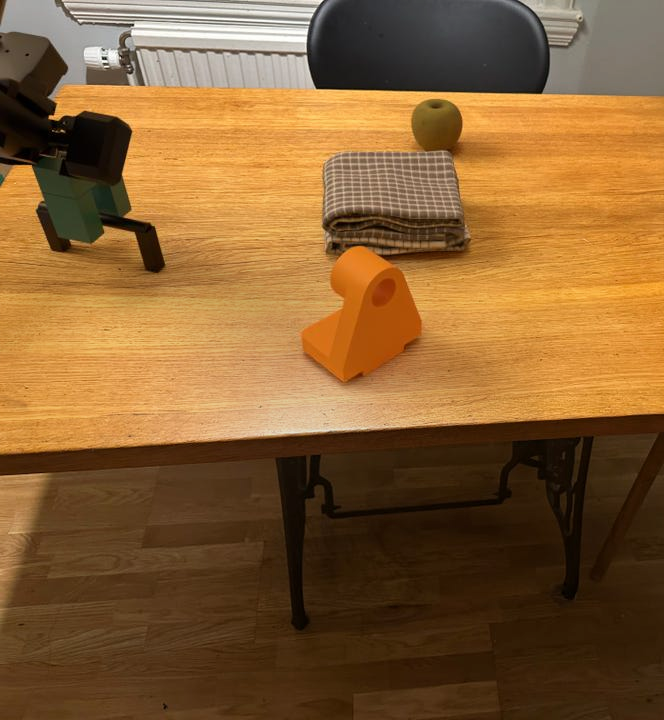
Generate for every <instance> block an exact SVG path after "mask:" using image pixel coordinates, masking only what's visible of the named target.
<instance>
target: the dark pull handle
mask: <svg viewBox="0 0 664 720" xmlns="http://www.w3.org/2000/svg"><path fill="white" fill-rule="evenodd" d="M35 213H36V216H37V218H38V220H39V224H40V225H41V228H42V230H43V233H44V236H45V238H46V240H47V243H48V245H49V248H50V250H51V251H56V252H60V253H64V252H66V251H67V250H68V249H69V248H71V246H72V243H71V240H69V239H65V238H60V237H58V235H57V233H56V230H55V227H54V225H53V222H52V219H51V217H50V214H49V212H48V209H47V206H46V204H45V201H44V200H40V201H39V202H38V204H37V208H36V209H35ZM98 213H99V216H100V219H101V222H102V226H103V227H107V228H111V229H115V230H120V231H125V232H131V233H134V235H135V238H136V242H137V245H138V250H139V252H140V256H141V259H142V262H143V263H142V264H143V266H144V270H145V271H148V272H153V273H157V274H158V273H159V272H160V271H161V270H163V269H164V267H165V266H166V262H165V259H164V255H163V251H162V247H161V244H160V240H159V239H160V238H159V237H158V232H157V229H156V225H152V223H151V222H148V221H142V220H138V219H134V218H129V217H125V216H124V217H119V216H115V215H110V214H105V213H100V212H98Z"/></svg>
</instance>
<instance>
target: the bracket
mask: <svg viewBox="0 0 664 720" xmlns="http://www.w3.org/2000/svg"><path fill="white" fill-rule="evenodd" d="M329 281H330V288H331V290H332V291H333V292H334V293H335V294H336V295H338V296H339V297H340V298H342V299H344V300H343V304H342V308H340V309H338V310H336V311H335V312H333V313H331V314H329V315H327V316H325V317H323V318H321V319H320V320H318V321H316V322H314V323H313V324H310V325H309V326H307V327H305V328H303V329H302V330H301V332H300V338H301V346H302V350H303V352H305V353H306V354H307V355H308V356H309V357H311V358H312V359H314V360H315V361H316V362H317V363H318V364H320V365H321V366H322V367H324V368H325V369H326V370H327V371H328V372H330V373H331V374H333V375H334V376H335V377H336V378H337V379H339V380H340V381H342V383H346V382H347V381H349V380H351V379H352V378H354V377H356V376H357V375H358V374H361V375H362V376H363V377H365V376H366V375H368V374H370V373H371V372H373V371H374V370H376V369H377V368H379V367H381V366H383V365H384V364H386V363H387V362H389V361H391V360H392V359H394V358H395V357H397V356H398V355H400V354H401V353H403V352H404V351H405V346H406V345H407V344H408V343H411V342H412V341H414V340H415V339H417V338H418V337H420V336H422V330H423V328H422V327H423V326H422V325H423V321H422V320H423V319H422V318H421V315H420V313H419V310H418V307H417V305H416V303H415V301H414V298H413V294H412V293H411V290H410V287H409V284H408V282H407V279H406V277H405V274H404V272H403V271H402V269H400V268H399V267H397V266H396V265H394V264H392V263H391V262H389V261H387V260H386V259H385V258H383V257H381V255H377V254H375V253H374V252H372V251H371V250H369V249H367V248H366V247H363V246H355V247H352V248H350V249H348V250H347V251H346V252H344V253H343V254H342V255H341V256H340V255H339V257H338V259H337V260H336V261H335V263H334V264H333V267H332V269H331V273H330V280H329Z"/></svg>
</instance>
